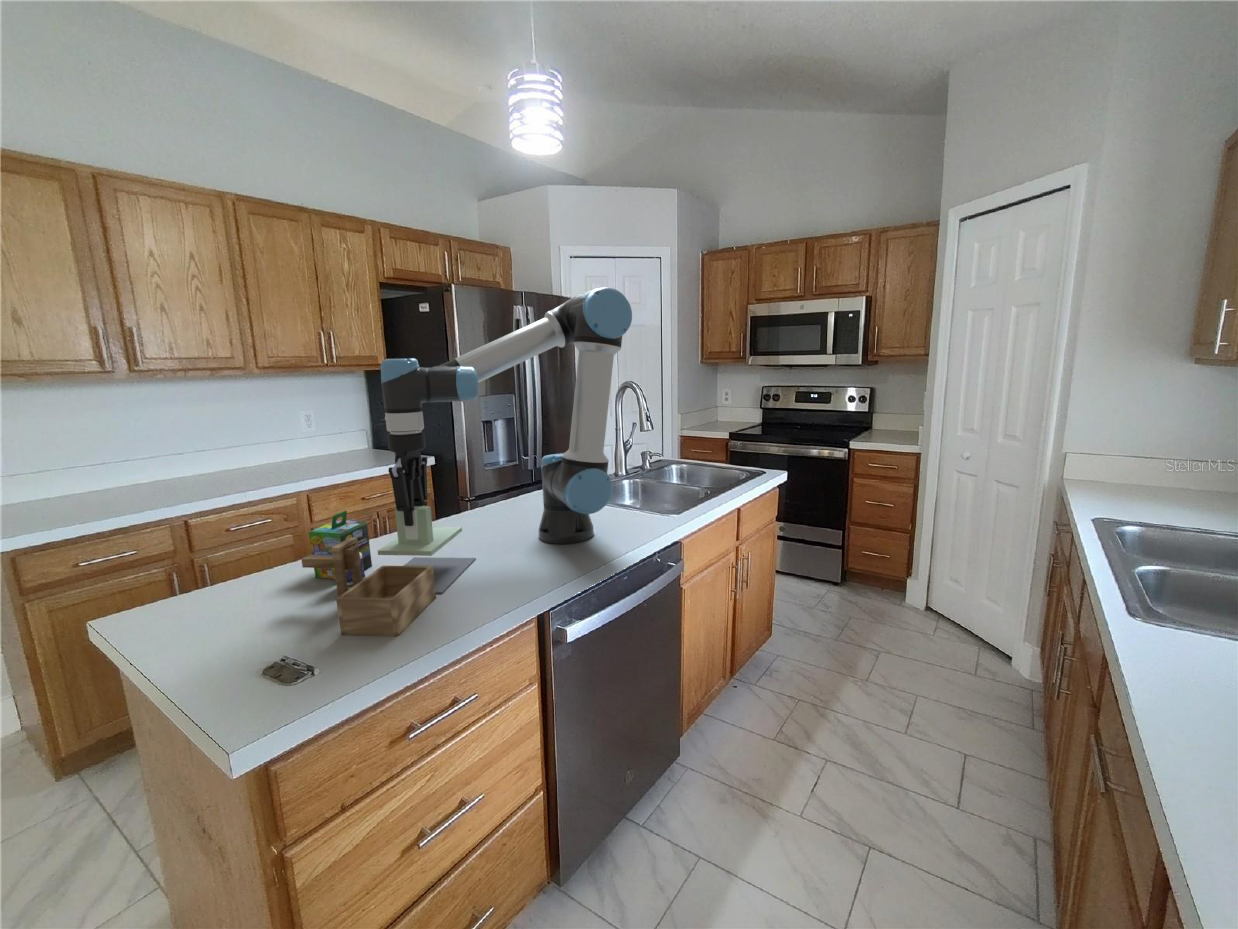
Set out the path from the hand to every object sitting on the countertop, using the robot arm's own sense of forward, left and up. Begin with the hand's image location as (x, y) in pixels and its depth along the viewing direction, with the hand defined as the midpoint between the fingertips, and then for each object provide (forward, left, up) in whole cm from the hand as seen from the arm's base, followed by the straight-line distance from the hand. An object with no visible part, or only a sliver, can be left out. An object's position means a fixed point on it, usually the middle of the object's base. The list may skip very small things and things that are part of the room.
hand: (415, 536), depth 123 cm
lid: (0, -3, -2) cm, 4 cm away
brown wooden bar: (+12, +13, -2) cm, 18 cm away
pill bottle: (+14, +4, -11) cm, 18 cm away
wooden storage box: (+1, +17, -10) cm, 20 cm away
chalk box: (+21, -4, -11) cm, 24 cm away
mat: (0, -3, -10) cm, 11 cm away
